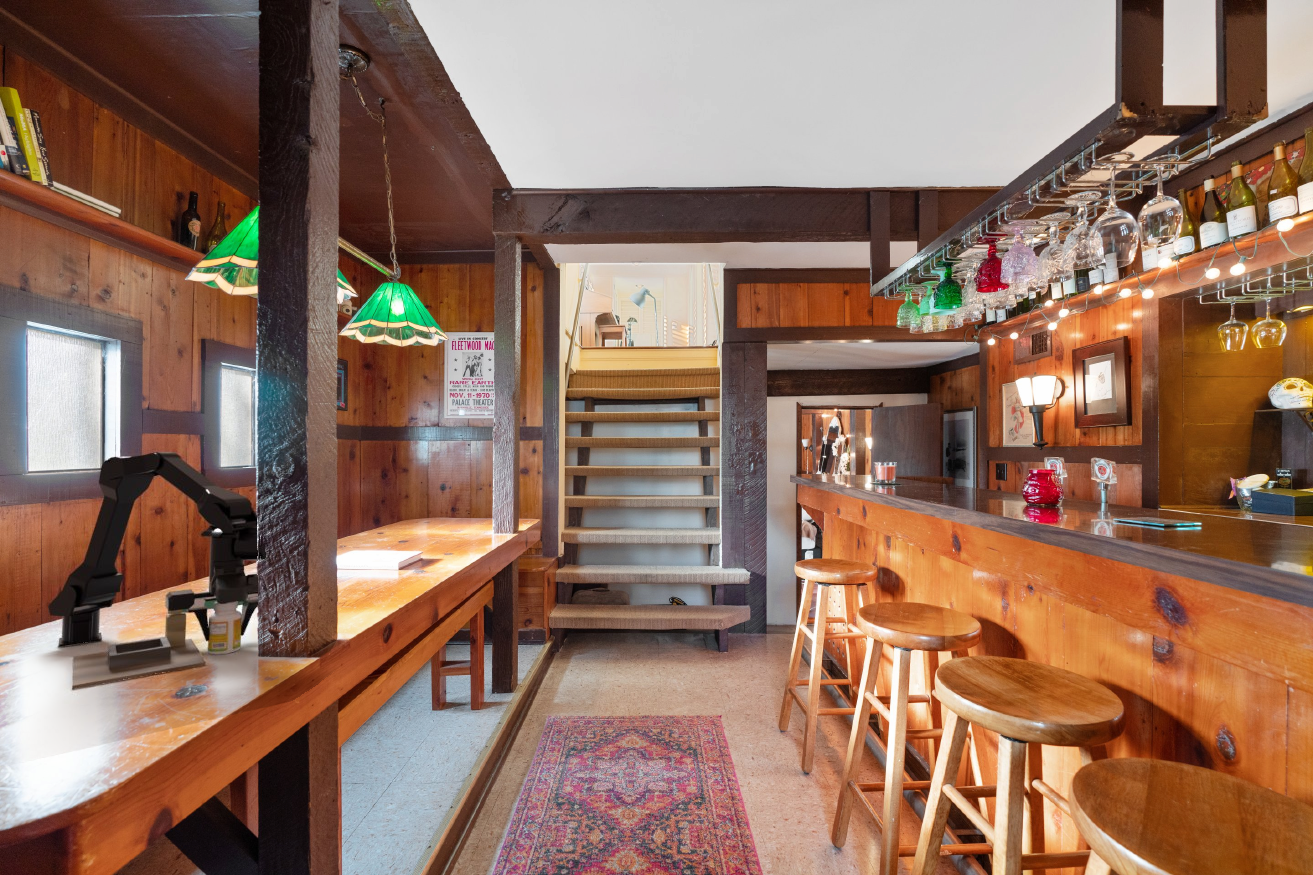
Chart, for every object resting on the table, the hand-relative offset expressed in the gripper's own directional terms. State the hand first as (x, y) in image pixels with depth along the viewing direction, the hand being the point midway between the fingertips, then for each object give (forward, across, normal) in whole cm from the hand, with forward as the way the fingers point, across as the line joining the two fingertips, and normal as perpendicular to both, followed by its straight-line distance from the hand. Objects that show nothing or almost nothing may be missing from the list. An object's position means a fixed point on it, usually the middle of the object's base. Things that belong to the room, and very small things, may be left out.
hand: (224, 637), depth 123 cm
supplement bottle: (+3, 0, 0) cm, 3 cm away
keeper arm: (-5, -2, +9) cm, 10 cm away
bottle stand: (+2, -13, +2) cm, 13 cm away
